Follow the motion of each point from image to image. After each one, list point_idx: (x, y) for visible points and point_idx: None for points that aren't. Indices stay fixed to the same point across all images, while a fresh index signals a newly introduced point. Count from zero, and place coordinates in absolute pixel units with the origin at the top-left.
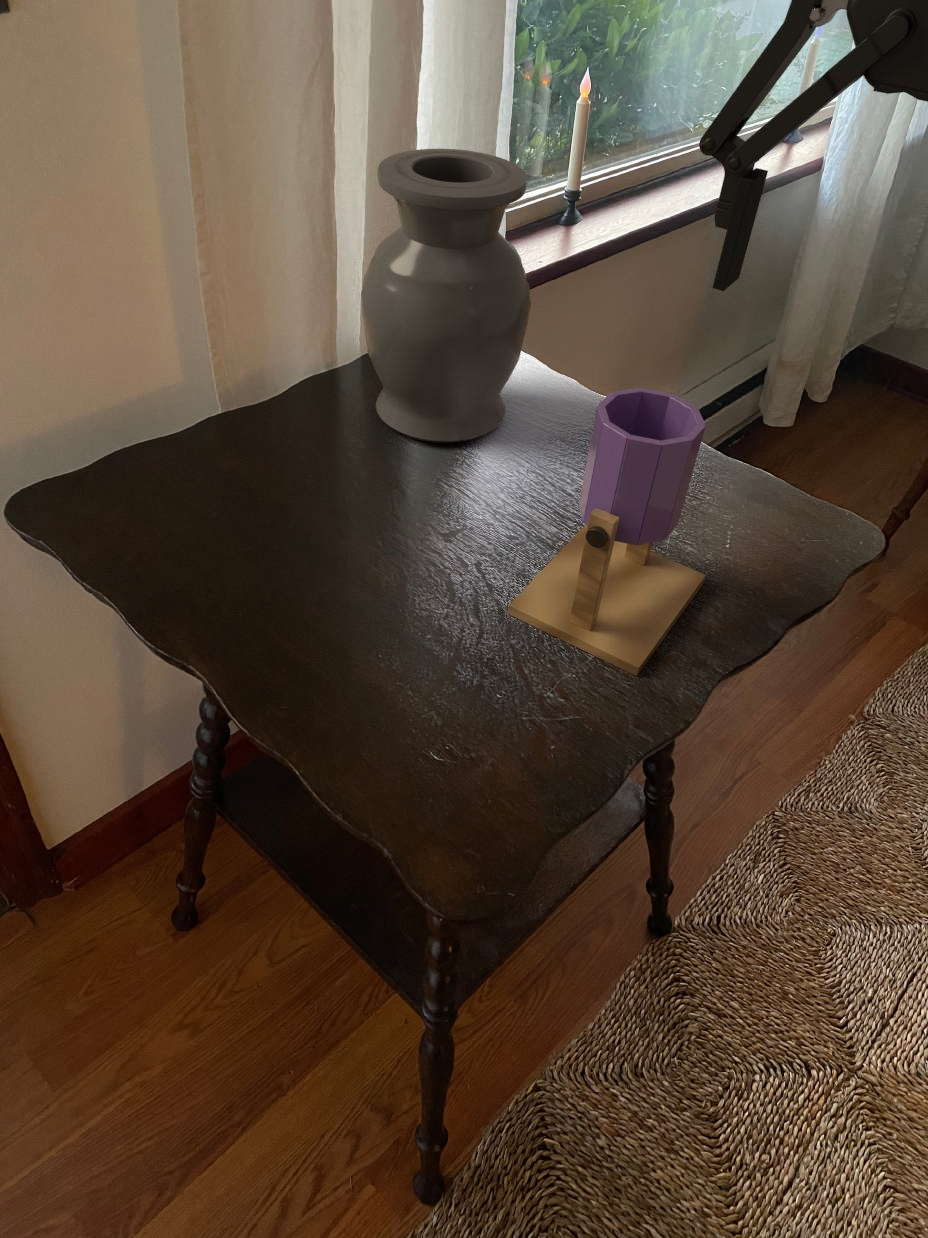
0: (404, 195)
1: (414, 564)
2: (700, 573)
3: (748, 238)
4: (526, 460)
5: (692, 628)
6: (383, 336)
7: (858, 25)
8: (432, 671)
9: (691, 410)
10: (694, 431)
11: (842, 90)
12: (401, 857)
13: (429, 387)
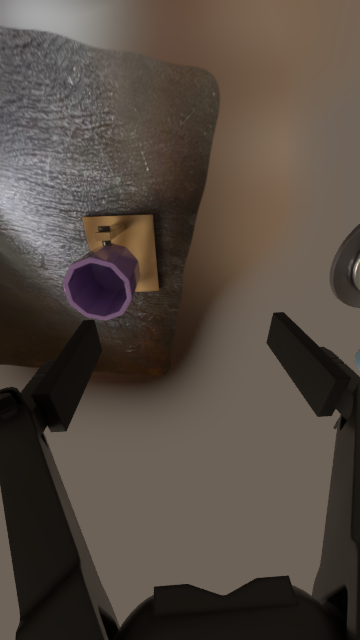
0: None
1: (51, 291)
2: (149, 215)
3: (82, 345)
4: (4, 168)
5: (163, 249)
6: None
7: None
8: (103, 328)
9: (112, 268)
10: (127, 290)
11: (96, 580)
12: (144, 374)
13: None
